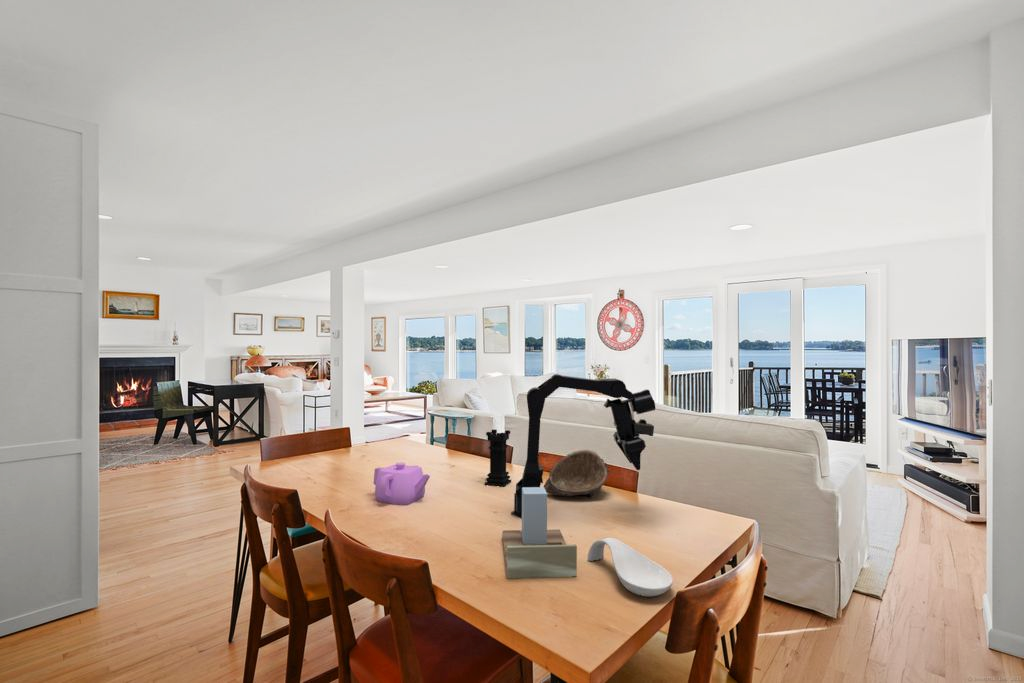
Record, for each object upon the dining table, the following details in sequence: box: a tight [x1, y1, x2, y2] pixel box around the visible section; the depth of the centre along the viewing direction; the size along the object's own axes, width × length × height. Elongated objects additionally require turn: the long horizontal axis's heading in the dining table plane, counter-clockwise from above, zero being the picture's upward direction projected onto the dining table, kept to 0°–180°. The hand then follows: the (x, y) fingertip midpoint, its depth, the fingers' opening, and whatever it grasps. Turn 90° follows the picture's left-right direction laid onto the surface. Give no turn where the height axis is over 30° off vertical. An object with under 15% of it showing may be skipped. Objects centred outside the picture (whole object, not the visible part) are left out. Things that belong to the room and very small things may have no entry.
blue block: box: [521, 486, 548, 545], centre depth 131 cm, size 6×6×13 cm
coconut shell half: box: [543, 449, 611, 498], centre depth 180 cm, size 15×16×25 cm
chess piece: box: [484, 429, 512, 488], centre depth 192 cm, size 8×8×20 cm
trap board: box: [501, 529, 578, 579], centre depth 126 cm, size 24×16×7 cm, turn 4°
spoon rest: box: [587, 537, 674, 597], centre depth 114 cm, size 24×12×7 cm, turn 29°
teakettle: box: [373, 462, 431, 506], centre depth 173 cm, size 17×17×12 cm
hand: (635, 466), depth 157 cm, fingers open, 9 cm apart
